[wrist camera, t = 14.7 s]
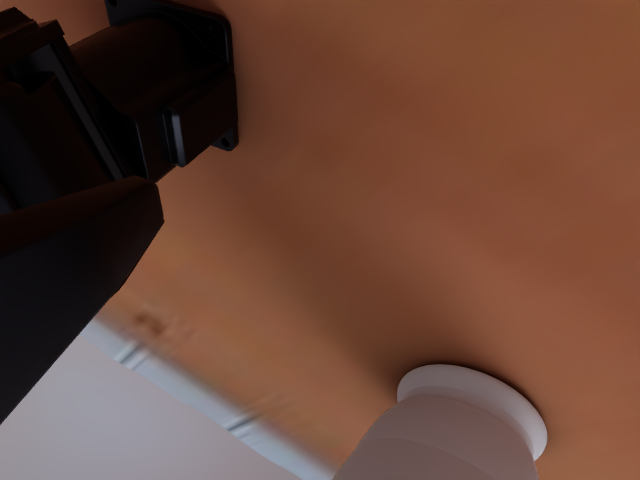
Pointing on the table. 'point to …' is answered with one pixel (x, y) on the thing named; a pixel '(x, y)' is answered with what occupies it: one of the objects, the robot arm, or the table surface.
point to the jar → (450, 431)
